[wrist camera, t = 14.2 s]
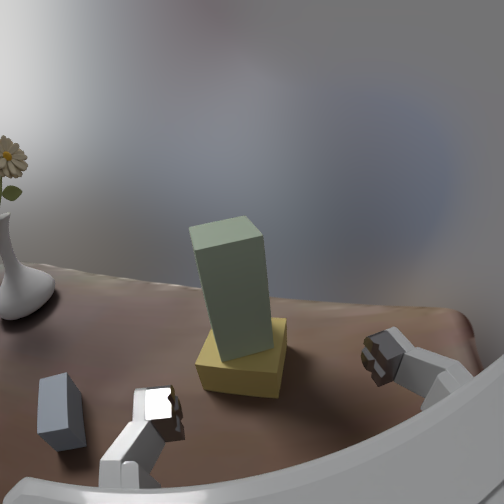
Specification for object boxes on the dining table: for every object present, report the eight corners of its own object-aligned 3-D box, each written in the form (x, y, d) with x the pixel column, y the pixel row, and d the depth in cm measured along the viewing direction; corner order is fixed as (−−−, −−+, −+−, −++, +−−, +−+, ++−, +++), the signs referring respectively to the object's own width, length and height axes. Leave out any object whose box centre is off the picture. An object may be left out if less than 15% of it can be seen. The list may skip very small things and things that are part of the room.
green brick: (273, 347, 21) (262, 235, 17) (221, 362, 20) (194, 250, 16) (257, 317, 24) (245, 215, 20) (211, 329, 24) (188, 227, 20)
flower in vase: (20, 336, 27) (-45, 143, 16) (-8, 317, 30) (-60, 162, 19) (79, 284, 38) (37, 118, 27) (42, 276, 41) (5, 137, 30)
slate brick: (87, 447, 16) (68, 427, 14) (58, 452, 15) (37, 433, 13) (81, 394, 21) (66, 372, 19) (56, 400, 19) (39, 379, 18)
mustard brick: (278, 400, 20) (276, 372, 19) (204, 391, 22) (195, 364, 20) (287, 347, 26) (286, 318, 24) (223, 342, 27) (217, 314, 25)
